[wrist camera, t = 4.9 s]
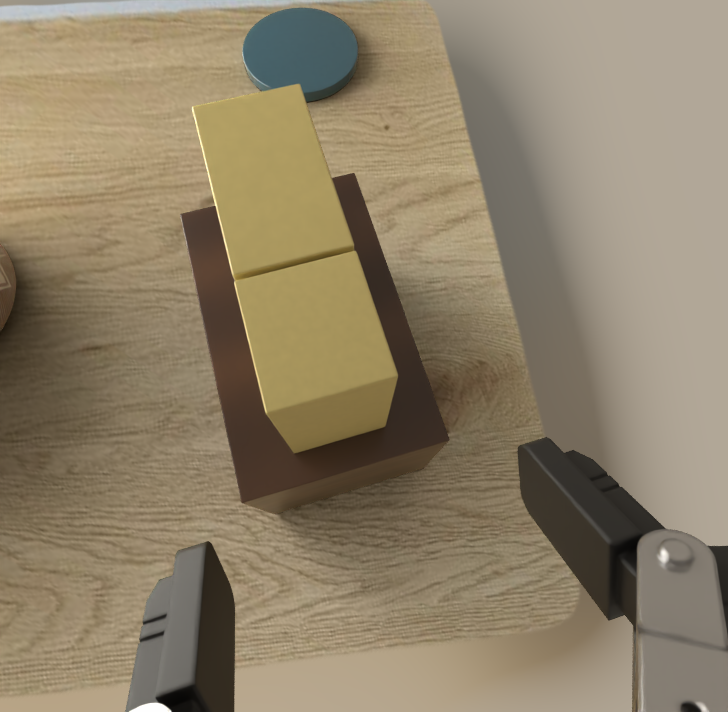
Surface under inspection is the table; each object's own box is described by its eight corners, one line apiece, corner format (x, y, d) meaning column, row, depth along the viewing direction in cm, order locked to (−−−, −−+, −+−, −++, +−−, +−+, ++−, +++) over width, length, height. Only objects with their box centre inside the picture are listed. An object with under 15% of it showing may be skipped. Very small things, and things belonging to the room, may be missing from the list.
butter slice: (385, 426, 25) (399, 376, 17) (293, 454, 24) (265, 414, 17) (356, 333, 26) (356, 249, 19) (269, 357, 26) (233, 280, 18)
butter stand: (423, 468, 34) (450, 440, 24) (274, 514, 33) (241, 503, 23) (354, 261, 39) (354, 172, 30) (223, 295, 38) (179, 213, 28)
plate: (310, 1, 48) (309, -9, 47) (381, 64, 46) (381, 54, 45) (221, 53, 46) (219, 42, 45) (291, 121, 43) (290, 112, 42)
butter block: (355, 329, 26) (354, 244, 19) (268, 353, 26) (232, 275, 18) (314, 202, 29) (299, 82, 21) (234, 221, 28) (190, 105, 21)
